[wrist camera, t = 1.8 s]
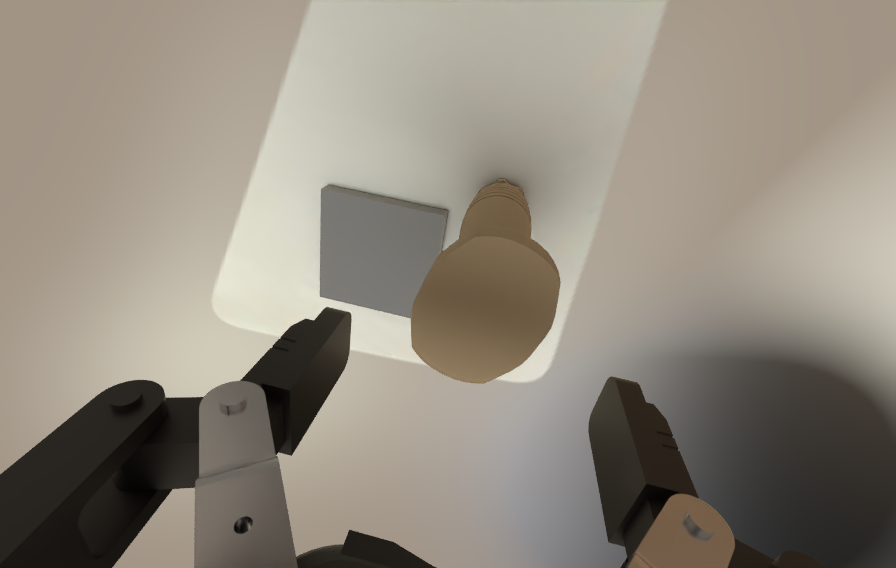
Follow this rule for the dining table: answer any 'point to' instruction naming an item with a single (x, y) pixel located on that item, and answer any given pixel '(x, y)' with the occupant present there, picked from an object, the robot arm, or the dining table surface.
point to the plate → (376, 249)
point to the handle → (486, 292)
